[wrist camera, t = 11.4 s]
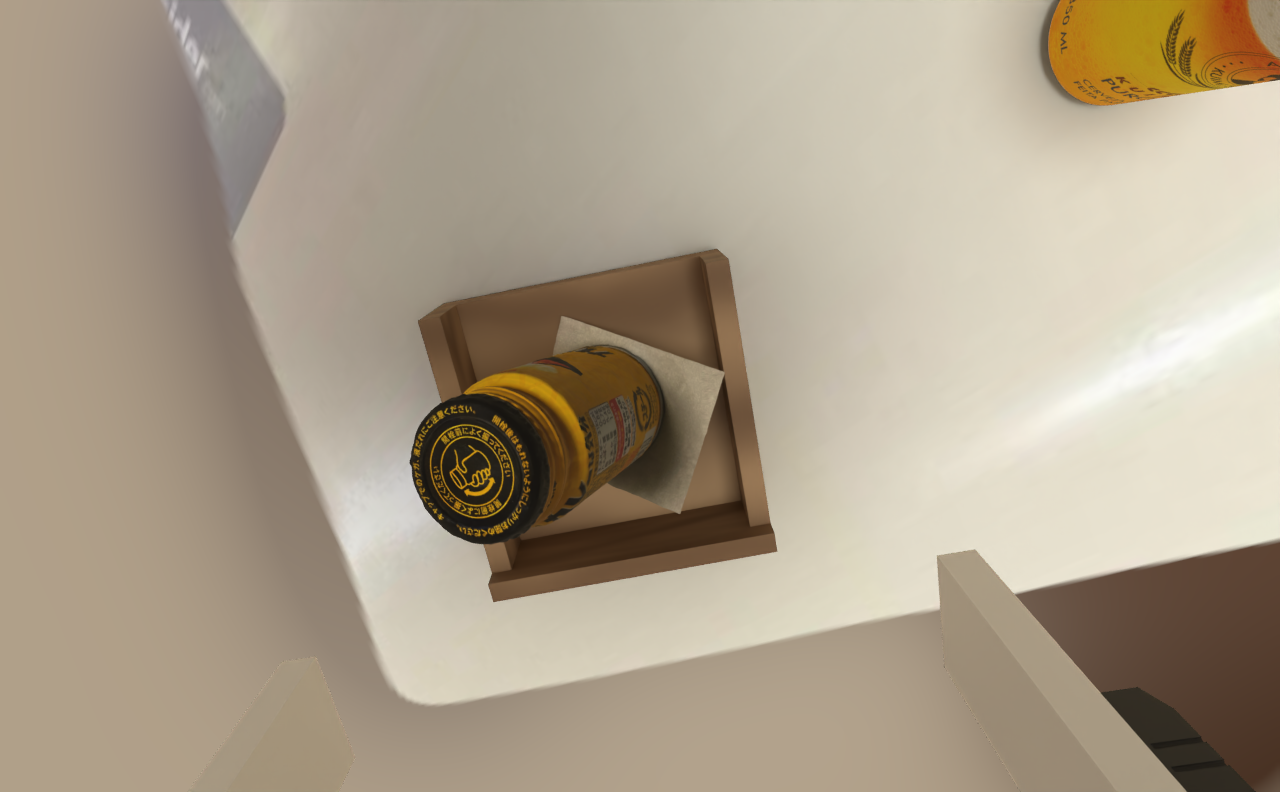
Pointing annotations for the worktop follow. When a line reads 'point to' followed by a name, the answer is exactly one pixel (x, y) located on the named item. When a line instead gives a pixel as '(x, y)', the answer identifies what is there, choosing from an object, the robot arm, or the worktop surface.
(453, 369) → the wooden serving tray
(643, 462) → the condiment
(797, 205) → the worktop surface
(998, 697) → the robot arm
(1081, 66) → the beer can
